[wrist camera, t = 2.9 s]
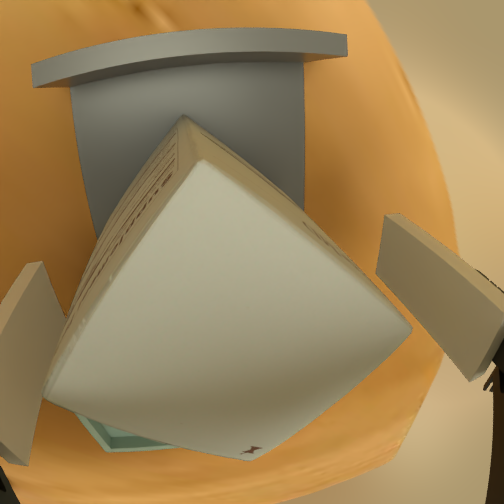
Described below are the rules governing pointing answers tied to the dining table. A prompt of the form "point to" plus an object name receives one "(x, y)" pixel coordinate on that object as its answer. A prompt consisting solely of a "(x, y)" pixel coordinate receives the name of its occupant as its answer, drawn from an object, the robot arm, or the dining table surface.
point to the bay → (189, 101)
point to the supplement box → (216, 310)
